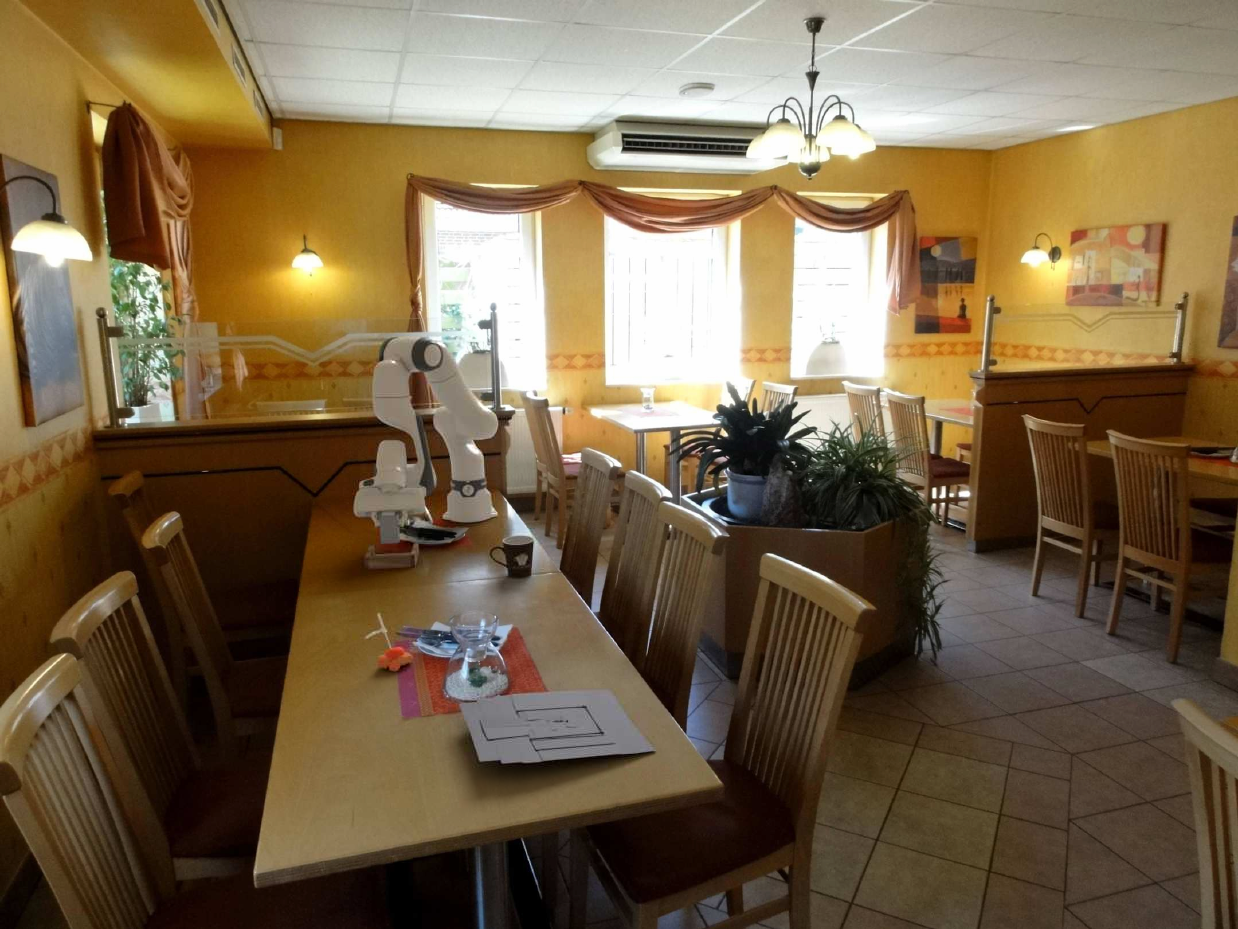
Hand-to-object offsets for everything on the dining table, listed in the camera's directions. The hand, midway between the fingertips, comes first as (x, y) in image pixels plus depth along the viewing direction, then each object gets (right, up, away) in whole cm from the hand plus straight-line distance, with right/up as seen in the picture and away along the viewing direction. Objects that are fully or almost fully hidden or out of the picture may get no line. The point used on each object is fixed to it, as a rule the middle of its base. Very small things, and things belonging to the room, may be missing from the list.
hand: (389, 526), depth 242 cm
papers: (+55, -31, -93) cm, 112 cm away
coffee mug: (+37, -13, -9) cm, 41 cm away
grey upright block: (0, -4, +1) cm, 5 cm away
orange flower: (+18, -25, -65) cm, 72 cm away
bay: (0, -10, +3) cm, 11 cm away
